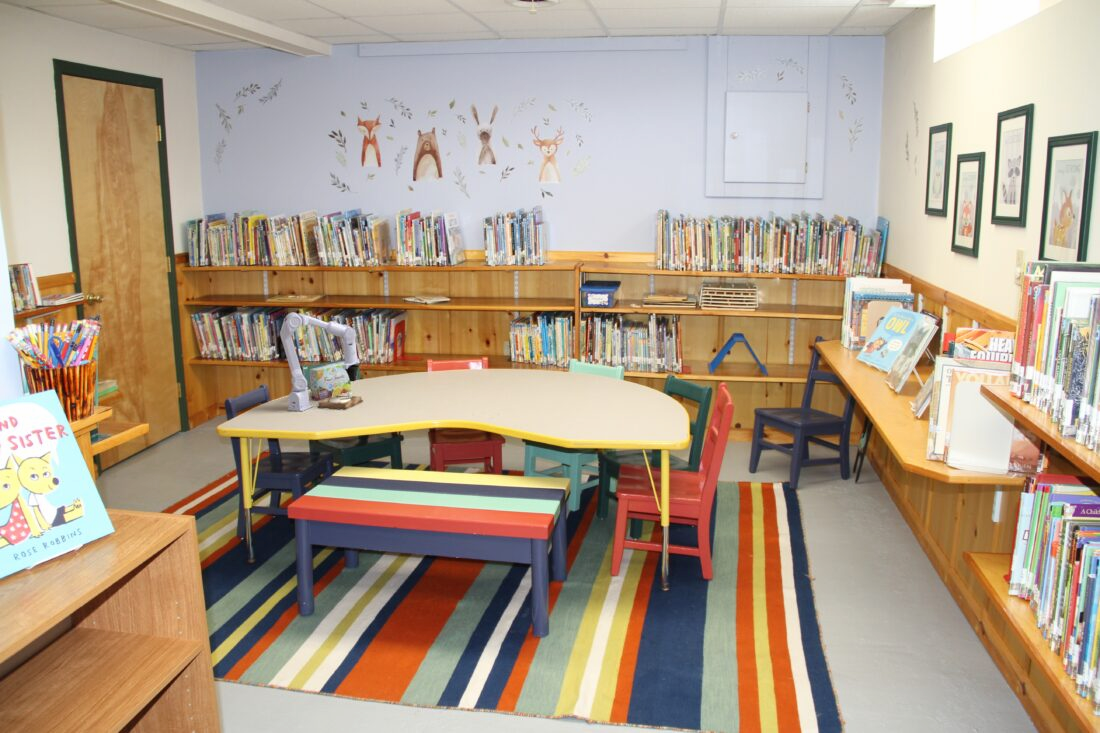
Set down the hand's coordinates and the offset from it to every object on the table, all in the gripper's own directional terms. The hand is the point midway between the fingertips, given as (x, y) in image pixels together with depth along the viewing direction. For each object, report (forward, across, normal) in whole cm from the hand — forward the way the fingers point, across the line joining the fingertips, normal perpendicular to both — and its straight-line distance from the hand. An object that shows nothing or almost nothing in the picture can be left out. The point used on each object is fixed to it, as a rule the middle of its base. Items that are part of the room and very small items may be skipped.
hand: (352, 380), depth 410 cm
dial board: (+10, -6, +4) cm, 13 cm away
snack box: (+10, +12, +17) cm, 23 cm away
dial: (+9, -6, +4) cm, 11 cm away
